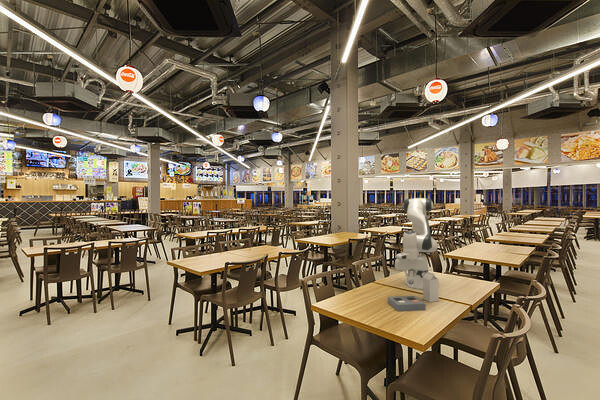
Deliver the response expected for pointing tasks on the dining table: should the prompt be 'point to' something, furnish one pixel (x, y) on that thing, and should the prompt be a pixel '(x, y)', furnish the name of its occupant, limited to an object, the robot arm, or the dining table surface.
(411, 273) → the plug
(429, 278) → the milk carton
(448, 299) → the dining table surface
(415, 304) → the socket board
